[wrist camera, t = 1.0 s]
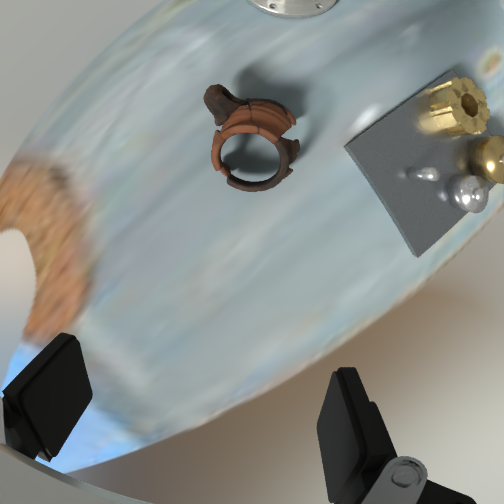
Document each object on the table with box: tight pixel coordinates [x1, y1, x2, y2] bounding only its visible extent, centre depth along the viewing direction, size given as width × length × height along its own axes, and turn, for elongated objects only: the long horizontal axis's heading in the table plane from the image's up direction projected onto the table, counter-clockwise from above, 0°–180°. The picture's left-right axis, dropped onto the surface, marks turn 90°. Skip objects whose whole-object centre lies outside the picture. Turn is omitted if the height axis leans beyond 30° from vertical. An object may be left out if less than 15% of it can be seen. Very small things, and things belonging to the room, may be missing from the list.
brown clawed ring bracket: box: [204, 84, 300, 192], centre depth 29 cm, size 12×10×8 cm
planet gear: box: [430, 77, 490, 137], centre depth 26 cm, size 7×7×4 cm
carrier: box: [344, 70, 504, 257], centre depth 28 cm, size 20×16×6 cm
